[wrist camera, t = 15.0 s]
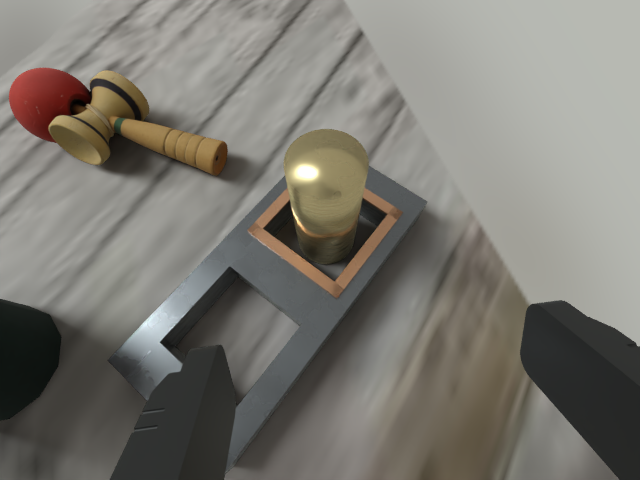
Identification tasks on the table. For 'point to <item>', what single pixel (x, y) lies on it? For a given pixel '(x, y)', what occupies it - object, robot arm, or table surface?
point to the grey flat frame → (269, 297)
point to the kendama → (102, 118)
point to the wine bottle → (25, 355)
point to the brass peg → (326, 192)
